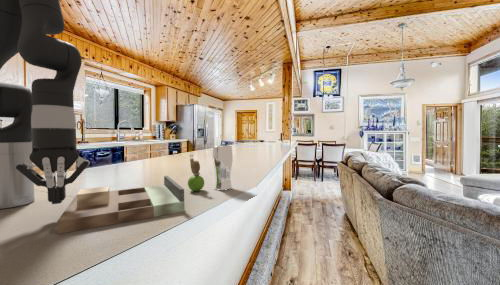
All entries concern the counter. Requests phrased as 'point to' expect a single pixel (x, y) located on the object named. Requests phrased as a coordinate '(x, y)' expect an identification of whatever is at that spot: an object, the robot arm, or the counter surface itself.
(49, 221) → the counter surface
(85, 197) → the block
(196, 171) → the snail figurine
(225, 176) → the beer glass
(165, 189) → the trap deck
